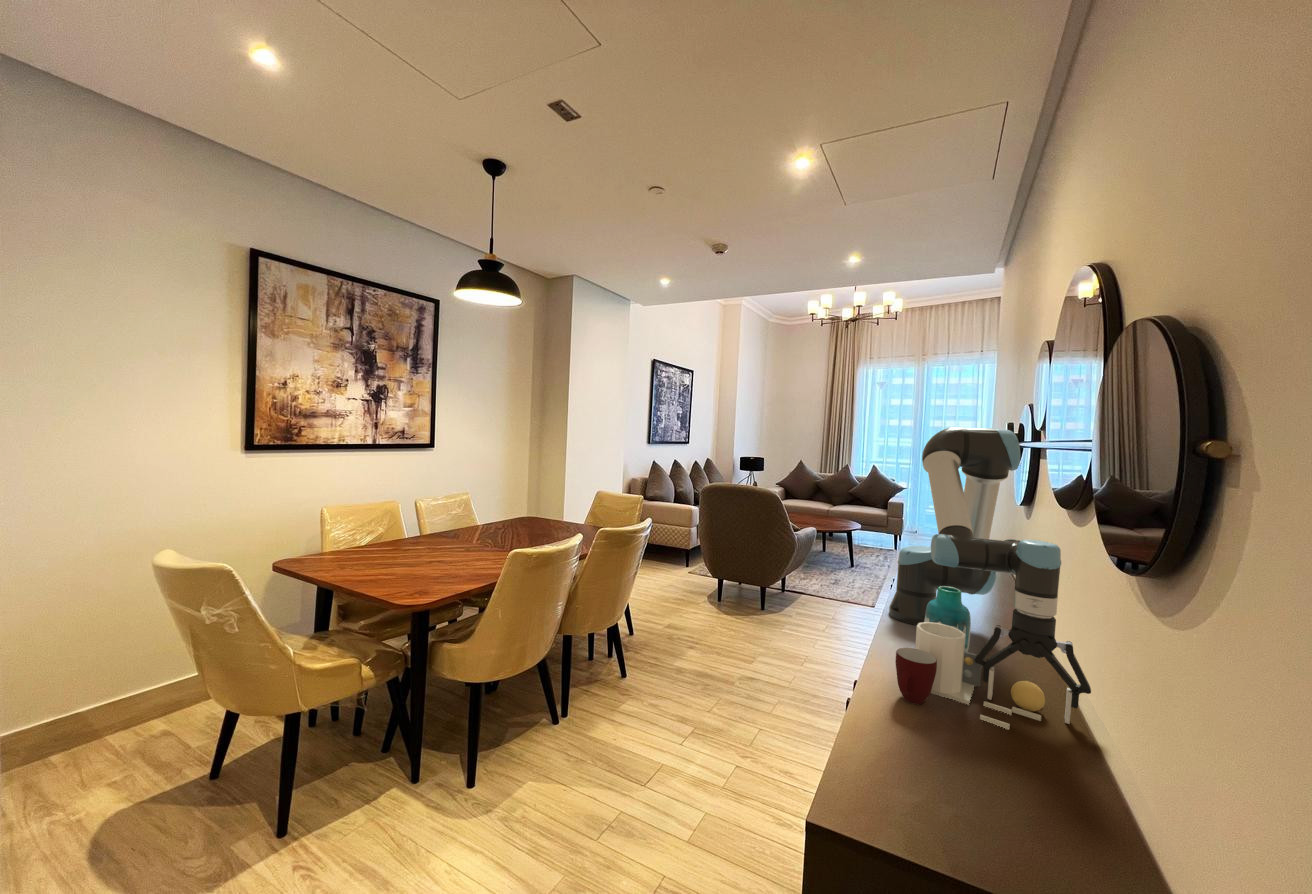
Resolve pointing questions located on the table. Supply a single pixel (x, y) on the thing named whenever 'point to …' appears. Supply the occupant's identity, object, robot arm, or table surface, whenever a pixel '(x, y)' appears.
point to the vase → (949, 611)
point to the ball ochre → (1028, 696)
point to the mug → (915, 674)
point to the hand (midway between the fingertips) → (1026, 708)
